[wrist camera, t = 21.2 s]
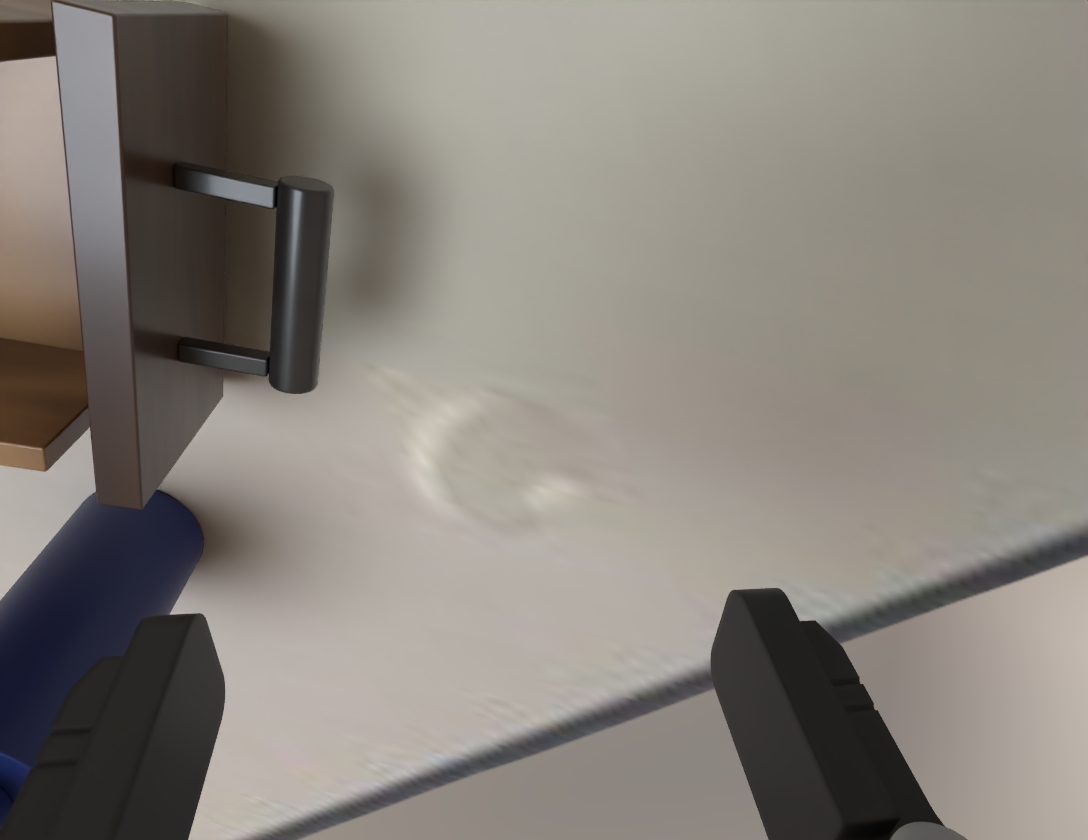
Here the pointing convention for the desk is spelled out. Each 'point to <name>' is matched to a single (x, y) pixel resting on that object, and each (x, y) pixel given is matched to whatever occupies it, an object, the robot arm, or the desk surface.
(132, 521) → the bottle
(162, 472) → the drawer
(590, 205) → the desk surface
